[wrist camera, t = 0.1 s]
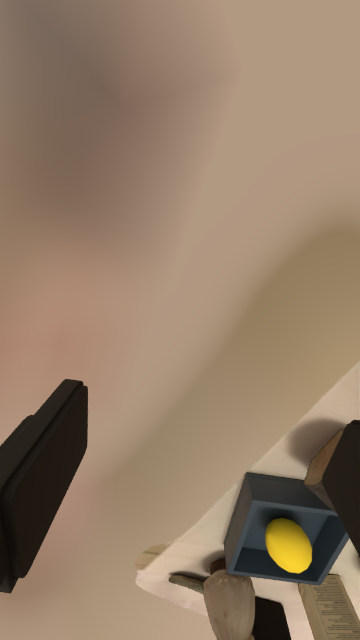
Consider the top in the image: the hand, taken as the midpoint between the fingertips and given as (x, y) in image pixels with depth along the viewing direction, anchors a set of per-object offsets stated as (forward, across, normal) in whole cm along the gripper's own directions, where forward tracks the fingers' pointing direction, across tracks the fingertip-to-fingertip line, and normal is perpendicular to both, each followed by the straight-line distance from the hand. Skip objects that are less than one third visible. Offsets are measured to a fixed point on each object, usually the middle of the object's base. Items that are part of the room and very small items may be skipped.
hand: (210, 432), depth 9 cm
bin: (+17, -17, +30) cm, 39 cm away
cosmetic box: (+17, -28, +44) cm, 55 cm away
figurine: (+17, -12, +43) cm, 48 cm away
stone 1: (+17, -9, +51) cm, 55 cm away
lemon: (+17, -17, +30) cm, 39 cm away
